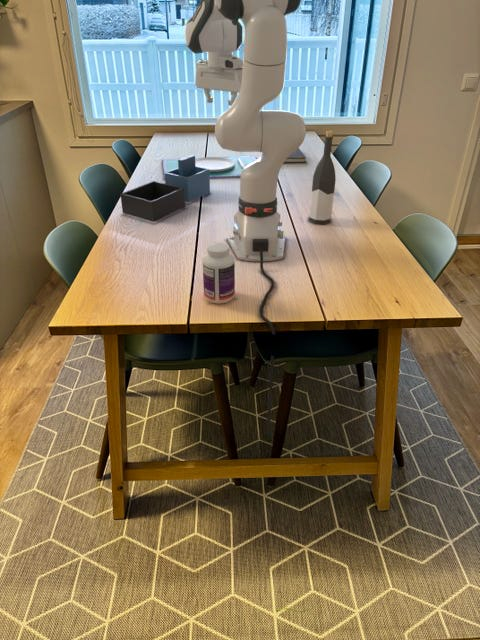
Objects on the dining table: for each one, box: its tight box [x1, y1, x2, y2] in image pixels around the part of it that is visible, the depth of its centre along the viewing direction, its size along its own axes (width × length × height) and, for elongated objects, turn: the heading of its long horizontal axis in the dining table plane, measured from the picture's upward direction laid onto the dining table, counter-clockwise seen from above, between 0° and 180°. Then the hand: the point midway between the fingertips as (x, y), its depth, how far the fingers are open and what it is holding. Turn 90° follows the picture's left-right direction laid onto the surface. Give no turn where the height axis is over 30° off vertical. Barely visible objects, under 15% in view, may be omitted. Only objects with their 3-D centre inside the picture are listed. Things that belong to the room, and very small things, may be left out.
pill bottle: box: [202, 241, 236, 304], centre depth 119 cm, size 8×8×14 cm
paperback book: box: [283, 147, 307, 164], centre depth 234 cm, size 16×23×2 cm
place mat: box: [162, 155, 258, 179], centre depth 217 cm, size 45×30×2 cm
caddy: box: [164, 154, 211, 203], centre depth 182 cm, size 14×11×15 cm
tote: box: [119, 180, 186, 223], centre depth 170 cm, size 18×15×8 cm
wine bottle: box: [308, 130, 337, 225], centre depth 159 cm, size 8×8×30 cm
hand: (220, 104), depth 171 cm, fingers open, 8 cm apart
